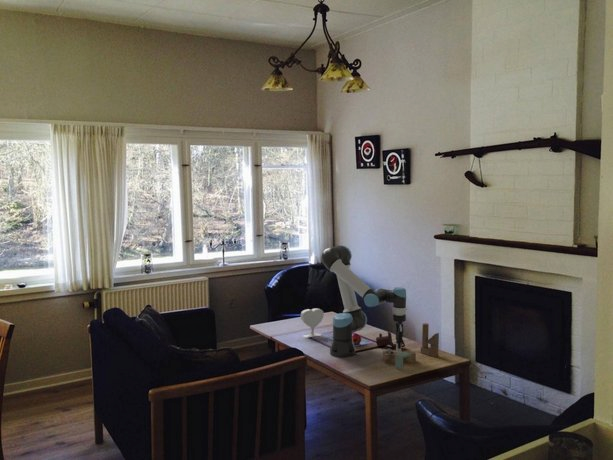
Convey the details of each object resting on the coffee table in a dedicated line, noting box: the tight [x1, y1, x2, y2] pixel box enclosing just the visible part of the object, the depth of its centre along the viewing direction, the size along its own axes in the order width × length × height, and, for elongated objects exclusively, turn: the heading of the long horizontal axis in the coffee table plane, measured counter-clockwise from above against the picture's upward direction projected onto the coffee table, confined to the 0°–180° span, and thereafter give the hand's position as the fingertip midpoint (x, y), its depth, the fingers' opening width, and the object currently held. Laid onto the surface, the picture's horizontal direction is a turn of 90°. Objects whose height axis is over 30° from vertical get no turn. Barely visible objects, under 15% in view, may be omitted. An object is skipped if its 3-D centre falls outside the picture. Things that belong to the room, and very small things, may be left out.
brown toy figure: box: [375, 331, 406, 349], centre depth 337 cm, size 6×17×10 cm, turn 73°
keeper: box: [394, 351, 411, 370], centre depth 301 cm, size 4×8×8 cm, turn 125°
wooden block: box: [420, 322, 440, 358], centre depth 323 cm, size 4×11×18 cm, turn 39°
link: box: [382, 350, 417, 364], centre depth 311 cm, size 18×7×5 cm, turn 90°
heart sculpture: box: [300, 307, 325, 339], centre depth 361 cm, size 16×5×18 cm, turn 116°
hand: (398, 353), depth 318 cm, fingers closed
